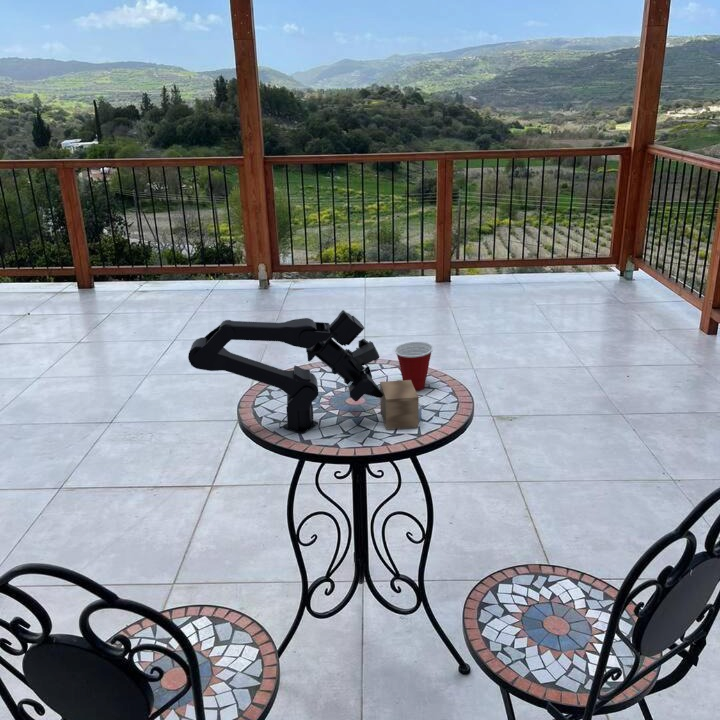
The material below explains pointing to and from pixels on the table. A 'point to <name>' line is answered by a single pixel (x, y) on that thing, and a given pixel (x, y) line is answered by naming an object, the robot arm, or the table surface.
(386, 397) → the brown box
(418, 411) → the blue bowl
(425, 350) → the plastic cup
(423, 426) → the table surface
